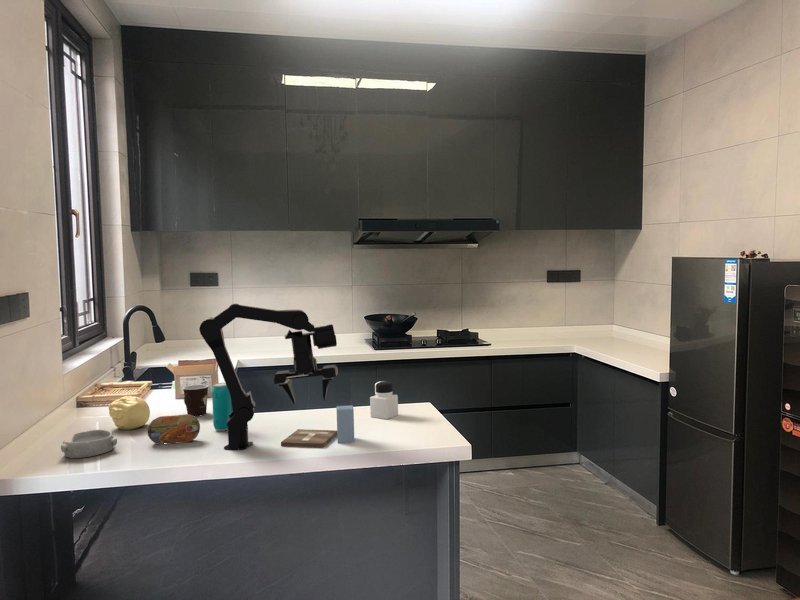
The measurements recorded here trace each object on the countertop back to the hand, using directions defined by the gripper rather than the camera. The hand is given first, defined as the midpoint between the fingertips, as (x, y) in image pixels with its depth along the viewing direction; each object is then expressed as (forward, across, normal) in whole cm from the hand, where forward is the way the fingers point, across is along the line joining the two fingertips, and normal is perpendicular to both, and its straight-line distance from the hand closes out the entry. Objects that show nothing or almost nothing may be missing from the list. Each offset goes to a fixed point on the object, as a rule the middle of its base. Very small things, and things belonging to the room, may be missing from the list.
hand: (309, 402), depth 186 cm
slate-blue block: (+13, -10, +1) cm, 16 cm away
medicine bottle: (+15, -20, -27) cm, 37 cm away
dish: (+6, +65, +7) cm, 65 cm away
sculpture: (+6, +65, -19) cm, 68 cm away
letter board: (+12, +1, 0) cm, 12 cm away
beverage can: (+9, +32, -14) cm, 36 cm away
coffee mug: (+8, +49, -34) cm, 60 cm away
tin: (+8, +43, -1) cm, 44 cm away
